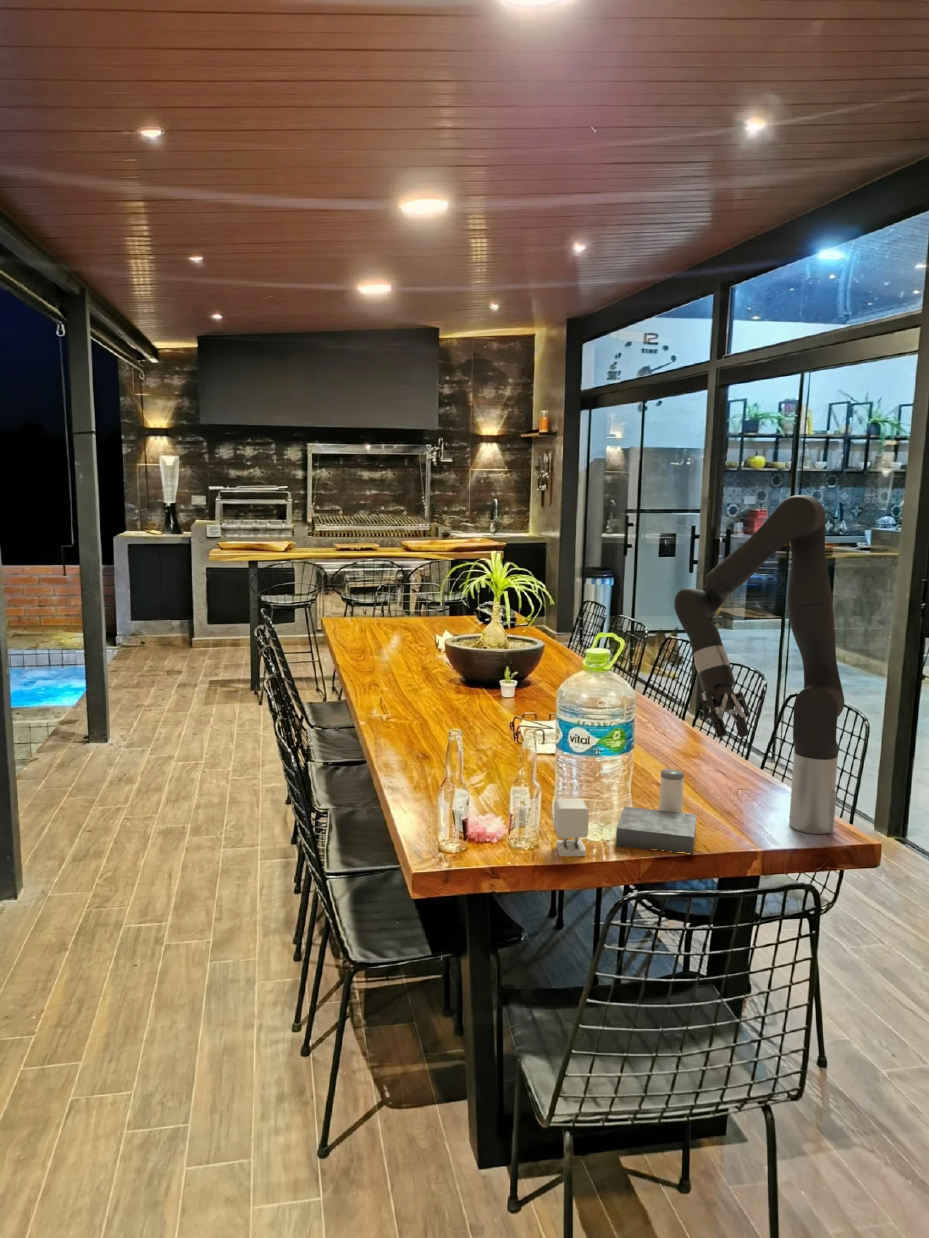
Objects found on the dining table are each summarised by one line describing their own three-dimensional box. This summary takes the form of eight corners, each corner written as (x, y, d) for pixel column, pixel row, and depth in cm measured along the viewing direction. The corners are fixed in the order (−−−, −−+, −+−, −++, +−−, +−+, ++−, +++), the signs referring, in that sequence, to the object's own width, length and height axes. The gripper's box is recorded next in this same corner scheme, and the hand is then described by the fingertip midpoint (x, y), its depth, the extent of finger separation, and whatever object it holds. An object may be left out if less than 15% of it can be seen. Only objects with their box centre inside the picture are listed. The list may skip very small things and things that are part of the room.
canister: (682, 815, 217) (684, 770, 215) (681, 823, 212) (683, 776, 210) (659, 812, 218) (661, 767, 216) (657, 820, 213) (660, 774, 212)
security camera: (582, 843, 199) (584, 798, 197) (587, 856, 192) (589, 810, 190) (553, 843, 199) (554, 798, 197) (557, 856, 192) (558, 809, 190)
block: (695, 831, 207) (696, 814, 206) (692, 855, 193) (693, 836, 193) (623, 823, 211) (624, 806, 210) (616, 845, 198) (616, 827, 197)
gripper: (708, 662, 207) (728, 731, 202) (744, 664, 216) (765, 731, 211) (682, 673, 213) (701, 741, 207) (719, 675, 222) (738, 740, 216)
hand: (733, 736), depth 209 cm, fingers open, 8 cm apart
